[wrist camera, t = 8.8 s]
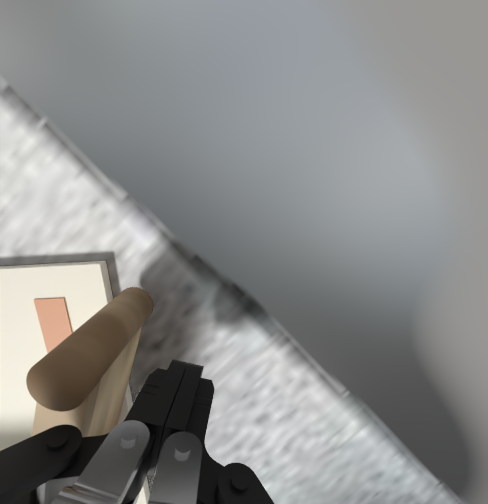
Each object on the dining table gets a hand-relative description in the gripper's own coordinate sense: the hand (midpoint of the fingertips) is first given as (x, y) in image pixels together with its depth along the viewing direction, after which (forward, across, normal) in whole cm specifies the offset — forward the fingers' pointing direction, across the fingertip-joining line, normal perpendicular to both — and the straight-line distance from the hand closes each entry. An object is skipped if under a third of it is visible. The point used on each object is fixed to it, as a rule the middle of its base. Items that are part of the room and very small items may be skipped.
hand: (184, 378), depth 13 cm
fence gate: (+2, +4, +3) cm, 5 cm away
